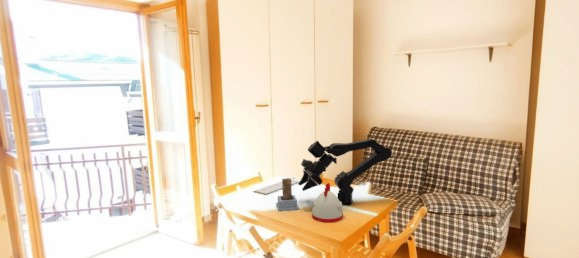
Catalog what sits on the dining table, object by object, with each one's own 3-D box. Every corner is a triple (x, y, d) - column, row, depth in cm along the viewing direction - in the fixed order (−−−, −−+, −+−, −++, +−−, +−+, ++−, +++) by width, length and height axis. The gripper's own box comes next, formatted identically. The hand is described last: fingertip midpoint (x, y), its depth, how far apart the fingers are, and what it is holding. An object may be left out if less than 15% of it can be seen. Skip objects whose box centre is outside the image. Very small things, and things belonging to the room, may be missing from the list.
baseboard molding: (251, 192, 187) (266, 196, 179) (250, 187, 187) (265, 191, 179) (285, 180, 211) (300, 183, 203) (285, 176, 210) (300, 179, 203)
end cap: (295, 202, 165) (295, 194, 165) (299, 209, 155) (298, 200, 155) (276, 204, 164) (275, 195, 163) (278, 211, 154) (278, 202, 154)
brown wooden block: (290, 203, 161) (290, 178, 160) (291, 205, 158) (291, 179, 157) (282, 204, 161) (282, 178, 159) (283, 206, 158) (283, 180, 156)
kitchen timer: (345, 213, 150) (345, 181, 148) (339, 224, 137) (339, 189, 136) (316, 209, 155) (316, 179, 153) (308, 220, 142) (307, 187, 141)
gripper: (306, 150, 168) (286, 172, 167) (315, 157, 149) (292, 182, 149) (322, 164, 170) (301, 186, 169) (331, 172, 151) (309, 197, 151)
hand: (300, 187), depth 160 cm, fingers open, 9 cm apart
